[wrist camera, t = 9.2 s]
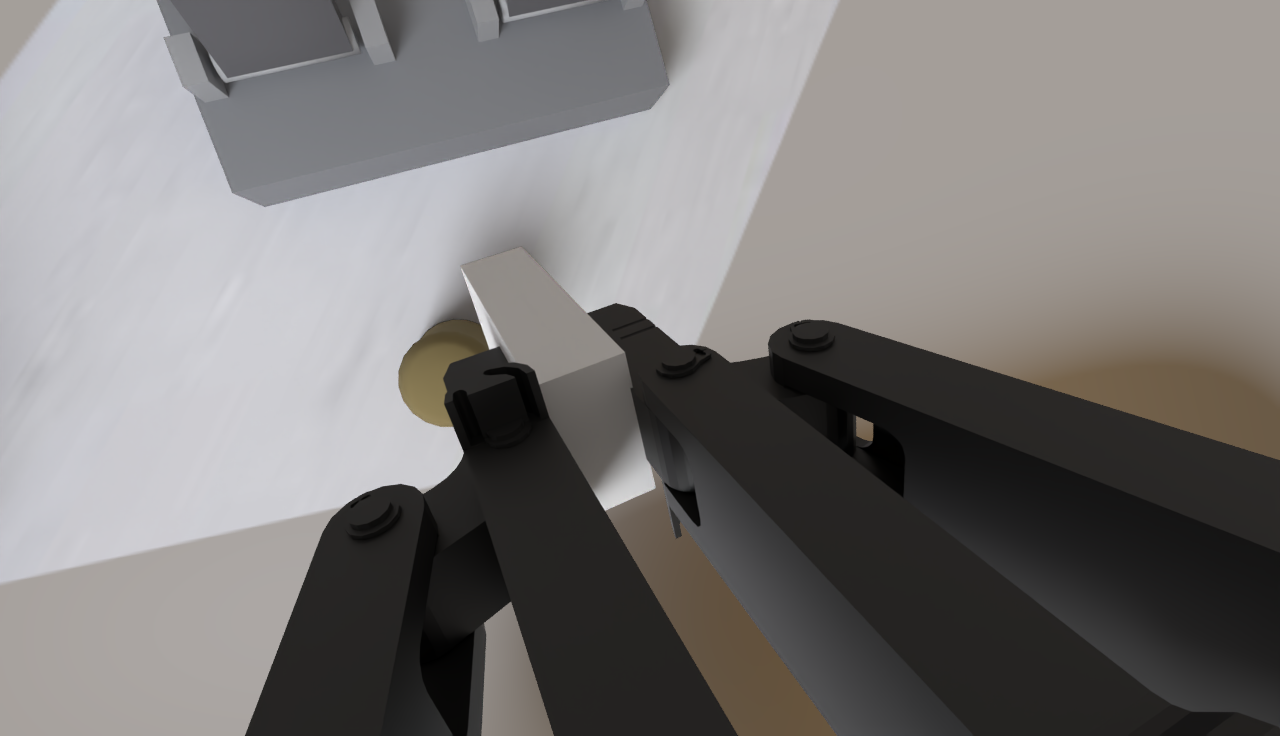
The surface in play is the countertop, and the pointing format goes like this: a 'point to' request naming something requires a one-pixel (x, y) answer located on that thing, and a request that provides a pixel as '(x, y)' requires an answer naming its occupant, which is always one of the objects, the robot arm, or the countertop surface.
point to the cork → (437, 367)
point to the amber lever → (535, 7)
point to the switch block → (420, 90)
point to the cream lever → (268, 34)
